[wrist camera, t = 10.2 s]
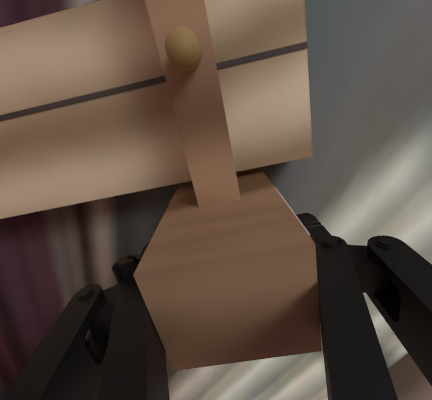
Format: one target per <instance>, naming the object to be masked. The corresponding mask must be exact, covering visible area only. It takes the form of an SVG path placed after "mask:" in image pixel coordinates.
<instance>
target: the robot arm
mask: <svg viewBox="0 0 432 400" xmlns="http://www.w3.org/2000/svg"><path fill="white" fill-rule="evenodd" d="M275 189H276V190H277V188H276V187H275ZM277 191H278V190H277ZM278 193H279V194H280V192H279V191H278ZM280 196H281V197H282V195H281V194H280ZM282 198H283V197H282ZM283 200H284V201H285V199H284V198H283ZM285 202H286V201H285ZM286 204H287V205H288V203H287V202H286ZM288 207H289V208H290V206H289V205H288ZM290 209H291V208H290ZM291 211H292V212H293V210H292V209H291ZM293 214H294V215H295V216H296V218H297V219H298V220H299V222H300V223H301V225H302V226H303V227H304V229H305V230H306V232H307V233H308V234H309V236H310V237H311V238H312V240H313V241H314V243H315V247H316V264H317V281H318V298H319V315H320V325H321V335H322V345H323V354H324V364H325V373H326V383H327V393H328V400H398V398H397V395H396V392H395V389H394V386H393V383H392V380H391V377H390V374H389V371H388V368H387V365H386V362H385V359H384V356H383V353H382V350H381V347H380V344H379V340H378V337H377V334H376V331H375V328H374V325H373V322H372V319H371V316H370V313H369V310H368V307H367V304H366V301H365V298H364V295H363V293H367V295H368V296H369V298H370V299H371V301H372V302H373V303H374V305H375V306H376V308H377V309H378V311H379V312H380V313H381V315H382V316H383V318H384V319H385V321H386V322H387V323H388V325H389V326H390V328H391V329H392V330H393V332H394V333H395V335H396V336H397V338H398V339H399V340H400V342H401V343H402V345H403V346H404V348H405V349H406V350H407V352H408V353H409V355H410V356H411V357H412V359H413V360H414V362H415V363H416V365H417V366H418V367H419V369H420V370H421V372H422V373H423V375H424V376H425V377H426V379H427V380H428V382H429V383H430V385H431V386H432V265H431V264H430V263H429V262H428V261H427V260H425V259H424V258H423V257H422V256H420V255H419V254H418V253H417V252H415V251H414V250H413V249H412V248H410V247H409V246H408V245H407V244H406V243H404V242H403V241H401V240H399V239H397V238H394V237H390V236H375V237H372V238H370V239H369V240H368V243H367V246H357V245H347V243H346V242H345V241H344V240H343V239H341V238H340V237H336V236H332V235H331V234H330V233H329V232H328V231H327V230H326V229H325V228H324V226H323V225H321V223H320V222H319V221H318V220H317V219H316V217H315V216H313V215H311V214H309V213H303V214H298V215H296V214H295V213H294V212H293ZM149 243H150V242H149ZM149 243H148V244H147V245H146V246H145V247H144V249H143V251H142V253H141V255H140V257H139V256H138V255H128V256H125V257H123V258H121V259H119V260H118V261H116V262H115V263H114V264H113V266H112V270H113V272H114V274H115V276H116V279H117V281H118V284H117V285H116V286H113V287H111V288H108V289H105V290H102V288H101V286H100V285H98V284H92V285H89V286H86V287H85V288H82V289H81V290H80V291H78V292H77V293H76V294H75V295H74V296H73V297H72V299H71V300H70V302H69V303H68V304H67V306H66V307H65V309H64V310H63V312H62V313H61V314H60V316H59V317H58V319H57V320H56V322H55V323H54V325H53V326H52V327H51V329H50V330H49V332H48V333H47V335H46V336H45V337H44V339H43V340H42V342H41V343H40V345H39V346H38V348H37V349H36V350H35V352H34V353H33V355H32V356H31V358H30V359H29V360H28V362H27V363H26V365H25V366H24V368H23V369H22V370H21V372H20V373H19V375H18V376H17V378H16V379H15V381H14V382H13V383H12V385H11V386H10V388H9V389H8V391H7V392H6V393H5V395H4V396H3V398H2V399H1V400H95V399H96V396H97V393H98V390H99V388H100V385H101V389H100V396H99V400H169V389H168V379H167V368H166V358H165V349H164V346H163V344H162V341H161V339H160V337H159V334H158V332H157V330H156V327H155V325H154V323H153V320H152V318H151V316H150V313H149V311H148V309H147V306H146V304H145V302H144V299H143V297H142V295H141V292H140V290H139V288H138V285H137V283H136V281H135V278H134V276H133V274H134V272H135V270H136V268H137V266H138V264H139V262H140V260H141V258H142V256H143V254H144V252H145V251H146V249H147V247H148V245H149ZM87 333H88V334H89V335H88V337H87V339H86V340H85V337H86V334H87ZM101 382H102V383H101Z"/></svg>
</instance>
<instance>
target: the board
mask: <svg viewBox="0 0 432 400" xmlns="http://www.w3.org/2000/svg"><path fill="white" fill-rule="evenodd" d="M204 1H205V6H206V12H207V17H208V23H209V28H210V34H211V39H212V44H213V50H214V55H215V61H216V66H217V72H218V77H219V83H220V88H221V94H222V99H223V104H224V110H225V115H226V121H227V126H228V132H229V137H230V143H231V148H232V154H233V159H234V164H235V170H236V172H238V171H243V170H248V169H253V168H258V167H263V166H268V165H273V164H278V163H283V162H288V161H293V160H298V159H303V158H308V157H313V155H312V135H311V116H310V97H309V77H308V58H307V39H306V19H305V0H204ZM188 181H192V179H191V175H190V171H189V168H188V164H187V160H186V156H185V152H184V148H183V144H182V141H181V137H180V133H179V129H178V125H177V121H176V117H175V114H174V110H173V106H172V102H171V98H170V94H169V91H168V87H167V83H166V79H165V75H164V71H163V67H162V64H161V60H160V56H159V52H158V48H157V44H156V41H155V37H154V33H153V29H152V25H151V21H150V17H149V14H148V10H147V6H146V2H145V0H100V1H96V2H93V3H89V4H85V5H82V6H78V7H74V8H71V9H67V10H63V11H60V12H56V13H53V14H49V15H45V16H42V17H38V18H34V19H31V20H27V21H24V22H20V23H16V24H13V25H9V26H5V27H2V28H0V219H3V218H8V217H13V216H18V215H23V214H28V213H33V212H38V211H43V210H48V209H53V208H58V207H63V206H68V205H73V204H78V203H83V202H88V201H93V200H98V199H103V198H108V197H113V196H118V195H123V194H128V193H133V192H138V191H143V190H148V189H153V188H158V187H163V186H168V185H173V184H178V183H183V182H188Z"/></svg>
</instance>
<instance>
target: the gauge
mask: <svg viewBox="0 0 432 400" xmlns="http://www.w3.org/2000/svg"><path fill="white" fill-rule="evenodd" d="M145 2H146V6H147V10H148V14H149V17H150V21H151V25H152V29H153V33H154V37H155V41H156V44H157V48H158V52H159V56H160V60H161V64H162V67H163V71H164V75H165V79H166V83H167V87H168V91H169V94H170V98H171V102H172V106H173V110H174V114H175V117H176V121H177V125H178V129H179V133H180V137H181V141H182V144H183V148H184V152H185V156H186V160H187V164H188V168H189V171H190V175H191V179H192V181H189V182H184V183H180V184H179V185H178V187H177V189H176V191H175V193H174V195H173V197H172V199H171V201H170V203H169V205H168V207H167V209H166V211H165V213H164V215H163V217H162V219H161V221H160V223H159V225H158V227H157V229H156V231H155V233H154V235H153V237H152V239H151V241H150V243H149V245H148V247H147V249H146V251H145V252H144V254H143V256H142V258H141V260H140V262H139V264H138V266H137V268H136V270H135V272H134V274H133V276H134V278H135V281H136V283H137V285H138V288H139V290H140V292H141V295H142V297H143V299H144V302H145V304H146V306H147V309H148V311H149V313H150V316H151V318H152V320H153V323H154V325H155V327H156V330H157V332H158V334H159V337H160V339H161V341H162V344H163V346H164V349H165V351H166V353H167V356H168V358H169V360H170V363H171V365H172V367H173V370H174V371H175V370H183V369H190V368H198V367H205V366H213V365H220V364H228V363H235V362H243V361H250V360H258V359H265V358H273V357H280V356H288V355H295V354H303V353H310V352H318V351H322V349H321V332H320V315H319V298H318V281H317V264H316V247H315V243H314V241H313V240H312V238H311V237H310V236H309V234H308V233H307V232H306V230H305V229H304V227H303V226H302V225H301V223H300V222H299V220H298V219H297V218H296V216H295V215H294V214H293V212H292V211H291V209H290V208H289V207H288V205H287V204H286V202H285V201H284V200H283V198H282V197H281V196H280V194H279V193H278V191H277V190H276V189H275V187H274V186H273V184H272V183H271V182H270V180H269V179H268V178H267V176H266V175H265V173H264V172H263V171H262V169H261V168H260V167H259V168H254V169H249V170H244V171H239V172H236V170H235V164H234V159H233V154H232V148H231V143H230V137H229V132H228V126H227V121H226V115H225V110H224V104H223V99H222V94H221V88H220V83H219V77H218V72H217V66H216V61H215V55H214V50H213V44H212V39H211V34H210V28H209V23H208V17H207V12H206V6H205V1H204V0H145Z"/></svg>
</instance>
